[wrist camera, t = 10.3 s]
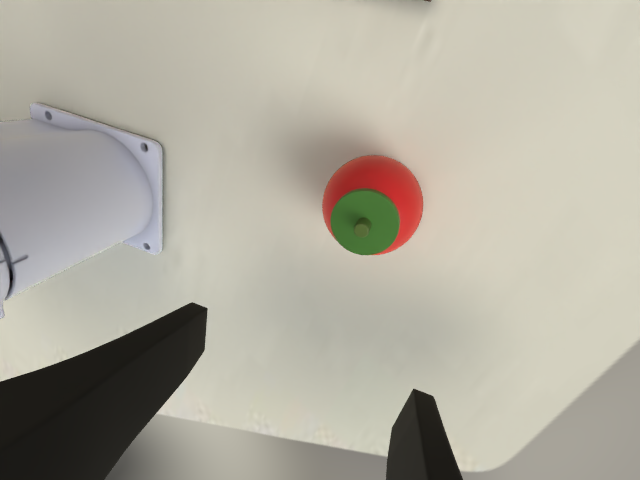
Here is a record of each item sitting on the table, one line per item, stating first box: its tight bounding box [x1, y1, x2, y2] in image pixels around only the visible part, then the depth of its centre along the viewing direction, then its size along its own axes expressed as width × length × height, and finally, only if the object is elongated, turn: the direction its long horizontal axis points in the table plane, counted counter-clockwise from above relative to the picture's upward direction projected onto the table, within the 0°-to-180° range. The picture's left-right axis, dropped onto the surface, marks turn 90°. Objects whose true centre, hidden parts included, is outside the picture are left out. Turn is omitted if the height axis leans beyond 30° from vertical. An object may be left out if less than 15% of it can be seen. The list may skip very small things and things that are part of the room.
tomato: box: [322, 155, 423, 255], centre depth 15 cm, size 5×5×6 cm
